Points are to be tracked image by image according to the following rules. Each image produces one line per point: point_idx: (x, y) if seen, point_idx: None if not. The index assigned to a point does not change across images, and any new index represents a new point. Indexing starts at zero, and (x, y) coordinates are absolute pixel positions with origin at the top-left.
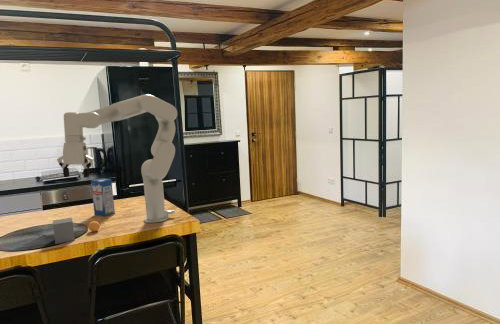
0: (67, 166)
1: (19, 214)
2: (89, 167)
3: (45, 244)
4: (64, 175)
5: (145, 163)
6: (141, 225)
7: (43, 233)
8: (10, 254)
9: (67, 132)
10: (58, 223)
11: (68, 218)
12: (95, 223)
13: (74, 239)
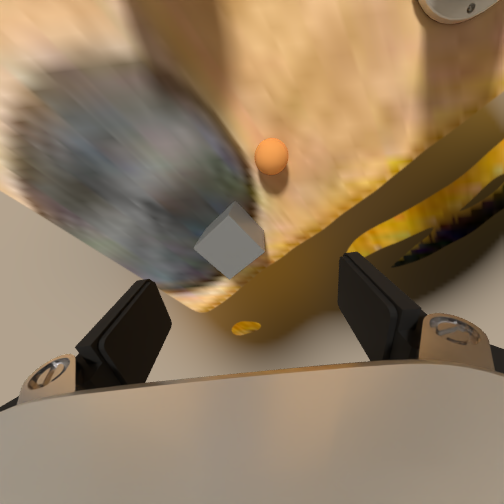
0: (85, 386)
1: None
2: (457, 331)
3: None
4: (162, 338)
5: None
6: (413, 65)
7: (128, 190)
8: (193, 302)
9: None
10: (236, 270)
11: (226, 225)
12: (282, 164)
13: (263, 231)
